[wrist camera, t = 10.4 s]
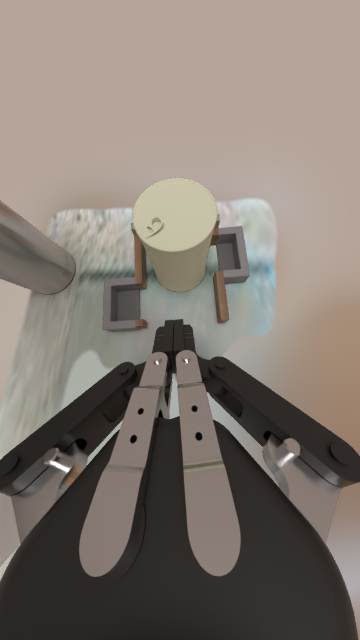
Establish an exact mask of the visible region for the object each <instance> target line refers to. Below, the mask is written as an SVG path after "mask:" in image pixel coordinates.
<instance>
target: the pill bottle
mask: <svg viewBox="0 0 360 640" xmlns="http://www.w3.org/2000/svg"><path fill="white" fill-rule="evenodd" d="M19 544H20V539H19V534H18V529H17V524H16V519H15V514H14V509H13V504H12V499H11V497H10V496H6V495H5V494H2V493H0V567H1V565H2V564H3V563H4V562H5V561H6V560H7V558H8V557H9V556H10V555H11V554H12V553H13V551H14V550H15V549H16V548H17V547H18V546H19Z"/></svg>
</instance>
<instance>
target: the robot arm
mask: <svg viewBox="0 0 360 640" xmlns="http://www.w3.org/2000/svg"><path fill="white" fill-rule="evenodd" d="M74 273H75V263H74V260H73V258H72V256H71V255H70V254H69V253H68V252H66V251H65V250H64V249H62V248H61V247H60V246H58V245H57V244H56V243H55V242H53V241H52V240H51V239H50V238H48V237H47V236H46V235H44V234H43V233H42V232H41V231H39V230H38V229H37V228H35V227H34V226H33V225H31V224H30V223H29V222H28V221H26V220H25V219H24V218H22V217H21V216H20V215H19V214H17V213H16V212H15V211H13V210H12V209H11V208H9V207H8V206H7V205H6V204H4V203H3V202H2V201H0V279H3V280H5V281H8V282H11V283H14V284H16V285H19V286H22V287H25V288H28V289H30V290H33V291H36V292H39V293H41V294H54V293H57V292H59V291H61V290H63V289H64V288H65V287H66V286H67V285H68V284H69V283H70V282H71V280H72V279H73V276H74ZM176 371H177V380H178V399H179V413H180V416H178V417H176V418H173V419H169V406H170V398H171V389H172V373H176ZM206 392H209V394H210V396H211V397H212V398H213V399H214V400H215V401H216V402H218V403H219V404H220V405H221V406H222V407H223V408H224V409H225V410H226V411H227V412H228V413H229V414H230V415H231V416H232V417H233V418H234V419H235V420H236V421H237V422H238V423H239V424H240V425H241V426H242V427H243V428H244V429H245V430H246V431H247V432H248V433H249V434H250V435H251V436H252V437H253V438H254V439H255V440H256V441H257V442H258V443H259V444H260V445H261V446H262V447H263V451H262V453H263V458H264V461H265V463H266V465H267V467H268V468H269V470H270V471H271V472H272V473H273V475H274V476H275V478H276V480H277V482H278V485H279V487H278V486H277V485H276V484H275V483H274V482H273V480H272V479H271V478H270V477H269V476H268V475H267V473H266V472H265V471H264V470H263V469H262V468H261V467H260V465H259V464H258V463H257V462H256V461H255V460H254V459H253V458H252V456H251V455H250V454H249V453H248V452H247V451H246V450H245V449H244V447H243V446H242V445H241V444H240V443H239V442H238V440H237V439H236V438H235V437H234V436H233V435H232V434H231V433H230V431H229V430H228V429H226V428H225V427H224V426H223V425H222V424H220V423H219V422H217V421H215V420H213V418H212V414H211V410H210V406H209V402H208V397H207V393H206ZM122 420H123V422H122V425H121V428H120V430H118V431H117V432H116V433H115V434H114V435H113V436H112V437H111V439H110V440H109V441H108V442H107V443H106V444H105V446H104V447H103V448H102V449H101V450H100V451H99V453H98V454H97V455H96V456H95V457H94V458H93V459H92V461H91V462H90V463H89V464H88V465H87V466H86V464H87V458H88V456H89V455H90V454H91V453H92V452H93V451H94V450H95V449H96V447H98V446H99V445H100V443H101V442H102V441H103V440H104V439H105V438H106V437H107V436H108V435H109V434H110V433H111V431H113V429H114V428H115V427H116V426H117V425H118V424H119V423H120V422H121V421H122ZM358 482H360V456H359V455H358V454H357V452H356V451H355V450H354V449H353V448H352V447H351V446H350V445H349V444H348V443H346V442H345V441H344V440H342V439H341V438H340V437H338V436H337V435H335V434H334V433H332V432H331V431H329V430H328V429H327V428H325V427H324V426H322V425H321V424H319V423H318V422H316V421H315V420H314V419H312V418H311V417H309V416H308V415H307V414H305V413H304V412H302V411H301V410H299V409H298V408H296V407H295V406H294V405H292V404H291V403H289V402H288V401H286V400H285V399H284V398H282V397H281V396H279V395H278V394H276V393H275V392H274V391H272V390H271V389H269V388H268V387H266V386H265V385H263V384H262V383H261V382H259V381H258V380H256V379H255V378H253V377H252V376H251V375H249V374H248V373H246V372H245V371H243V370H242V369H241V368H239V367H238V366H236V365H235V364H233V363H232V362H231V361H229V360H228V359H226V358H224V357H214V358H212V359H211V360H206V359H203V358H201V357H199V356H198V355H197V354H196V351H195V344H194V336H193V328H192V327H191V326H190V325H183V319H178V320H166V321H165V326H164V327H159V328H158V329H157V331H156V335H155V340H154V346H153V351H152V354H151V355H150V356H149V357H148V359H147V361H146V362H144V363H141V364H138V365H136V366H134V364H133V363H131V362H124V363H122V364H120V365H118V366H117V367H116V368H114V369H113V370H112V371H111V372H109V373H108V374H107V375H106V376H104V377H103V378H102V379H101V380H99V381H98V382H97V383H96V384H94V385H93V386H92V387H90V388H89V389H88V390H87V391H85V392H84V393H83V394H82V395H81V396H79V397H78V398H77V399H75V400H74V401H73V402H72V403H70V404H69V405H68V406H67V407H65V408H64V409H63V410H62V411H60V412H59V413H58V414H56V415H55V416H54V417H53V418H51V419H50V420H49V421H48V422H46V423H45V424H44V425H43V426H41V427H40V428H39V429H38V430H36V431H35V432H34V433H33V434H31V435H30V436H29V437H28V438H26V439H25V440H24V441H23V442H21V443H20V444H19V445H18V446H16V447H15V448H14V449H12V450H11V451H10V452H9V453H8V454H6V455H5V456H4V457H3V458H2V459H1V460H0V493H2V494H5V495H6V496H10V497H11V499H12V504H13V509H14V514H15V519H16V524H17V529H18V534H19V539H20V544H21V545H20V546H19V548H18V549H17V551H16V553H15V554H14V556H13V557H12V559H11V561H10V563H9V565H8V567H7V568H6V570H5V572H4V575H3V577H2V579H1V581H0V640H358V634H357V628H356V622H355V616H354V611H353V608H352V604H351V600H350V597H349V594H348V591H347V588H346V585H345V582H344V580H343V577H342V575H341V573H340V570H339V568H338V566H337V564H336V562H335V560H334V558H333V556H332V554H331V552H330V551H329V549H328V547H327V546H326V544H325V543H326V540H327V536H328V533H329V530H330V526H331V523H332V519H333V516H334V512H335V509H336V506H337V502H338V499H339V495H340V492H341V489H342V488H343V487H346V486H349V485H352V484H355V483H358Z"/></svg>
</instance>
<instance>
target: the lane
mask: <svg viewBox="0 0 360 640" xmlns="http://www.w3.org/2000/svg"><path fill="white" fill-rule="evenodd" d="M219 222H220V218H219V214H217V220H216V224H215V227H214V230H213V234H212V239H211V243H210V245H216V244H217V240H218V236H219V231H218V226H219ZM131 230H132V232H133V234H134V240H135V284H136V286H137V287H138V288H139V289H146V251H145V248H144V246H143V244H142V242H141V240H140V238H139V236H138V235H137V233H136V231H135V228H134V225H133V223H131ZM213 281H214V290H215V299H216V309H217V318H218V323H221V322H226V321H228V320H229V314H228V306H227V297H226V289H225V281H224V273H223V271H216V272H215V275H214V277H213ZM135 326H136V327H139V328H147V321H145V320H143V319H140V320H135Z"/></svg>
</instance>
